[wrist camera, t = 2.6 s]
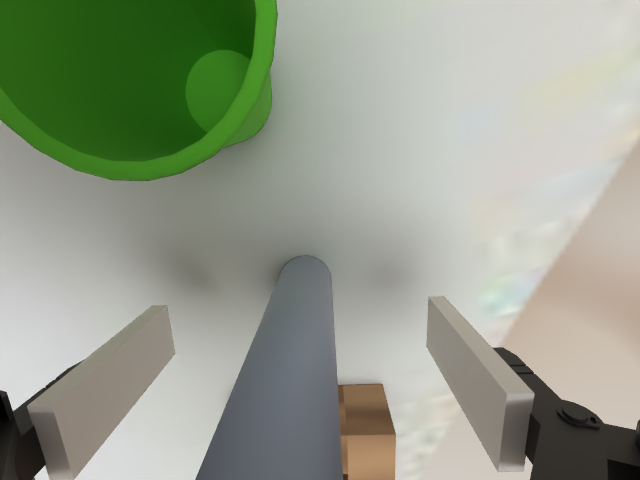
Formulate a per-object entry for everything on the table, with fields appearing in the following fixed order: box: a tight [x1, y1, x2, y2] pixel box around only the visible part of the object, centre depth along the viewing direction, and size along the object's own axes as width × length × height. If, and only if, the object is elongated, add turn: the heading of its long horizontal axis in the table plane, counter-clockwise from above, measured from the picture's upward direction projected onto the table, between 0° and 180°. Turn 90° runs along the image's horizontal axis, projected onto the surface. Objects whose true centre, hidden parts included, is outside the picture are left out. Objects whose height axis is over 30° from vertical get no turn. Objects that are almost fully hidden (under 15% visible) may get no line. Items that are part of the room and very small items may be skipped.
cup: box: [0, 0, 278, 181], centre depth 13 cm, size 9×9×11 cm
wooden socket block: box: [338, 384, 396, 480], centre depth 22 cm, size 11×11×4 cm
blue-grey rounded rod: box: [195, 256, 343, 480], centre depth 14 cm, size 4×4×16 cm
